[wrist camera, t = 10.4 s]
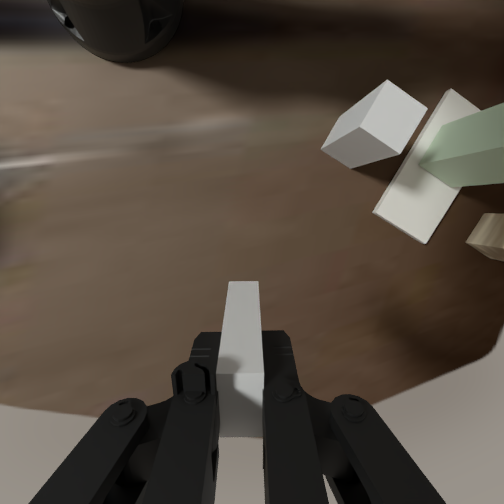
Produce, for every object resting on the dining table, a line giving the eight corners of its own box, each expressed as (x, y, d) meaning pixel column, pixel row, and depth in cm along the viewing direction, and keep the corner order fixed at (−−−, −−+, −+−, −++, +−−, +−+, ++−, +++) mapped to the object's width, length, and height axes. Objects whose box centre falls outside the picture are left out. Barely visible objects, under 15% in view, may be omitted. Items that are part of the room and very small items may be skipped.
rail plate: (421, 243, 44) (425, 244, 43) (372, 212, 43) (375, 212, 42) (494, 127, 43) (500, 125, 42) (445, 91, 41) (451, 88, 40)
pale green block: (451, 187, 42) (562, 178, 28) (418, 164, 41) (515, 143, 27) (475, 148, 41) (600, 120, 28) (442, 125, 41) (554, 83, 27)
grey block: (320, 149, 41) (359, 126, 29) (339, 116, 40) (387, 79, 29) (350, 168, 42) (400, 154, 30) (369, 136, 41) (427, 108, 29)
